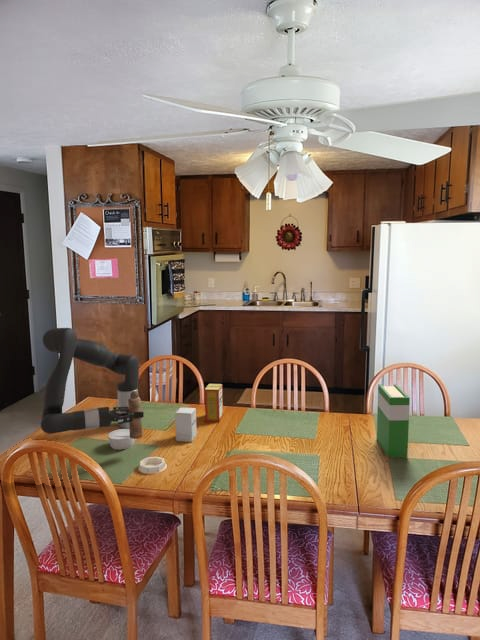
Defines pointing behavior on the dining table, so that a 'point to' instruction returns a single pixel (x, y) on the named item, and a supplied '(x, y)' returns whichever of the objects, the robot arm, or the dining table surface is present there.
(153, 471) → the ring coaster
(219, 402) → the baking soda box
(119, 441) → the ramekin
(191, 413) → the supplement box
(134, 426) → the pepper mill
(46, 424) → the robot arm
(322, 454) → the dining table surface
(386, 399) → the hardback book
